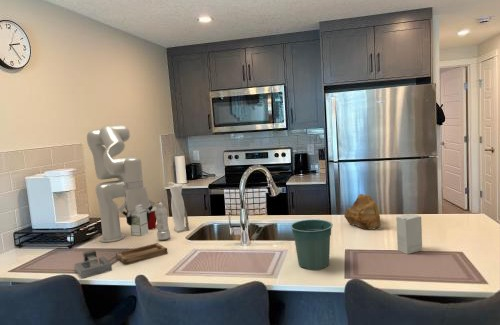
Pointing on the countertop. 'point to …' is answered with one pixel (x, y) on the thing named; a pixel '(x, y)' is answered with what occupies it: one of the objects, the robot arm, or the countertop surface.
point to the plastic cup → (152, 219)
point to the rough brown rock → (363, 213)
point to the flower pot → (312, 243)
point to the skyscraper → (178, 208)
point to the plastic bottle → (162, 221)
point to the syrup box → (139, 221)
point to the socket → (92, 268)
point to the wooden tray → (141, 253)
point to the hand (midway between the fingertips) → (138, 222)
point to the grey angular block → (91, 257)
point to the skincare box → (409, 233)
